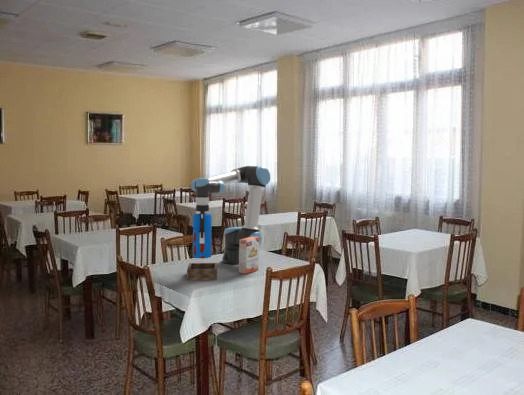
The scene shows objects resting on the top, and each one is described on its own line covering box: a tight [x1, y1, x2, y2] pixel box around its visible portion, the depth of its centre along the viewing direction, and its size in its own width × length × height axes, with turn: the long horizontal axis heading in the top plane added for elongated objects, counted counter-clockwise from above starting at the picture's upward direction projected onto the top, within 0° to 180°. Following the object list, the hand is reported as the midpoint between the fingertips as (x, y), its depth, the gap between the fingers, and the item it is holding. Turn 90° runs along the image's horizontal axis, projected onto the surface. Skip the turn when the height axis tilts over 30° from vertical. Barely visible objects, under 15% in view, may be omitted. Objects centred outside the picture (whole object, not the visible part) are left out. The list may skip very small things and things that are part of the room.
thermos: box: [192, 212, 213, 259], centre depth 301 cm, size 11×11×25 cm
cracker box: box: [238, 237, 260, 275], centre depth 315 cm, size 14×6×21 cm, turn 147°
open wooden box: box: [186, 262, 218, 281], centre depth 304 cm, size 17×17×6 cm
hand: (202, 241), depth 302 cm, fingers closed on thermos, 11 cm apart
